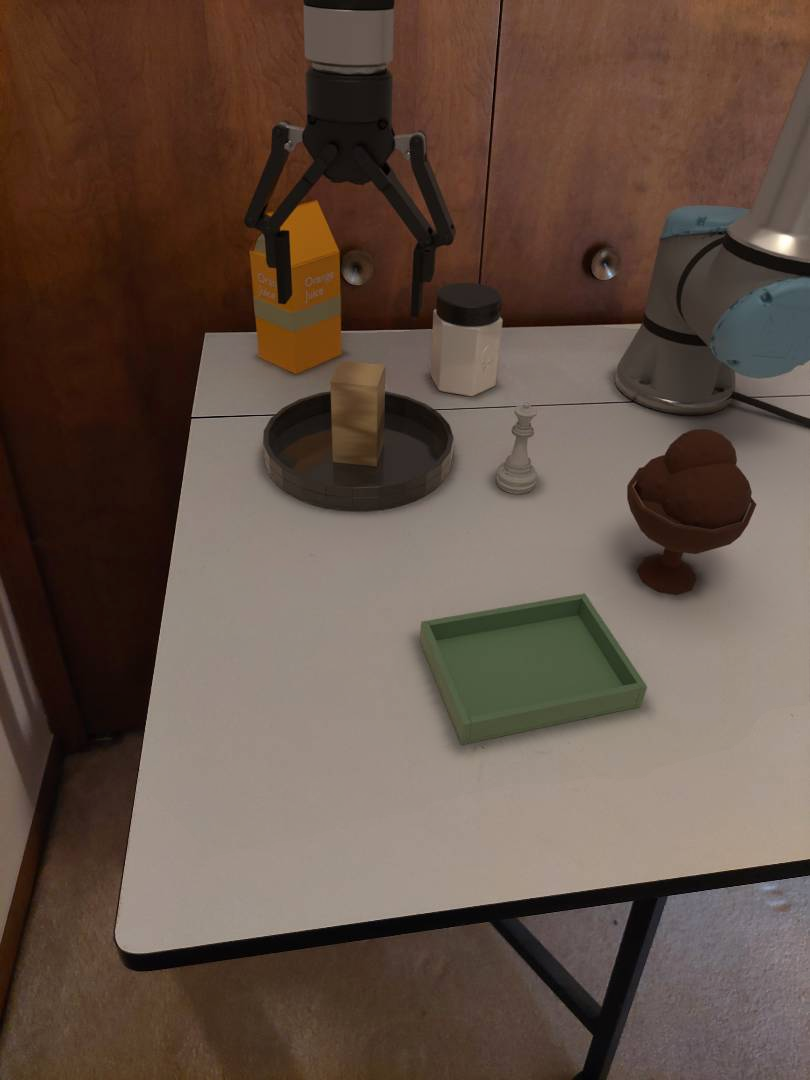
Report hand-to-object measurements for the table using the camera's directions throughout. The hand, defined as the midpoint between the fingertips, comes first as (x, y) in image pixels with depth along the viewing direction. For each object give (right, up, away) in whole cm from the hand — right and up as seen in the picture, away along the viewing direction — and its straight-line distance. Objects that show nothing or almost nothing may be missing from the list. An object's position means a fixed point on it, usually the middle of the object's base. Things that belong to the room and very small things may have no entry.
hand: (350, 305), depth 82 cm
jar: (+13, -3, +26) cm, 29 cm away
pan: (0, -14, +10) cm, 18 cm away
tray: (+16, -35, -15) cm, 41 cm away
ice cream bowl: (+31, -27, -5) cm, 41 cm away
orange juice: (-9, +2, +30) cm, 32 cm away
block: (0, -14, +10) cm, 17 cm away
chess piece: (+18, -18, +7) cm, 26 cm away
